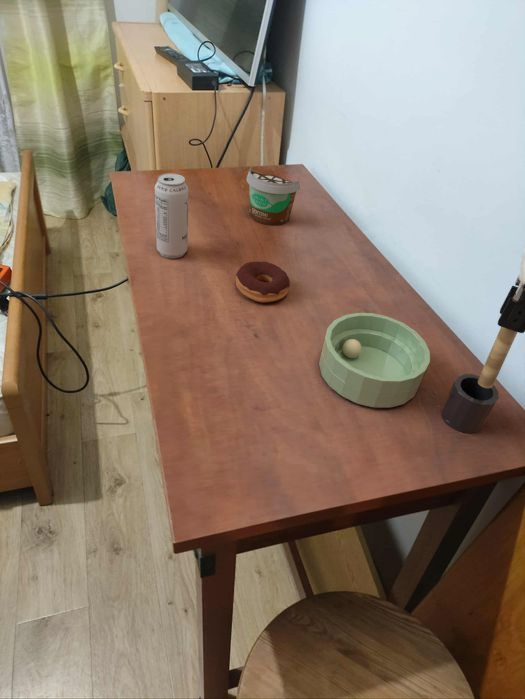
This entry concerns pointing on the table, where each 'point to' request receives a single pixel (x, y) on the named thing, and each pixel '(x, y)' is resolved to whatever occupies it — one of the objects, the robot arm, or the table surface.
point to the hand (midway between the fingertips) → (511, 321)
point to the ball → (352, 348)
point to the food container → (271, 198)
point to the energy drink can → (171, 215)
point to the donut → (260, 291)
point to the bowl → (374, 360)
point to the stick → (496, 357)
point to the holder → (468, 404)
